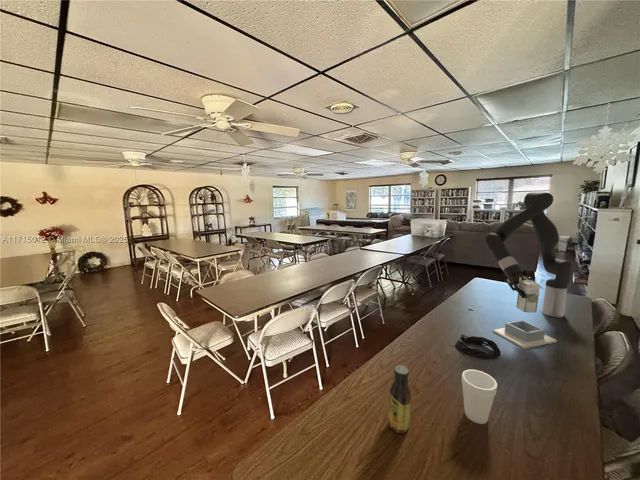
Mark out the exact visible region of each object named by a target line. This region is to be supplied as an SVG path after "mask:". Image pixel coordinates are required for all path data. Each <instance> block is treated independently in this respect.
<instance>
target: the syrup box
mask: <svg viewBox="0 0 640 480" xmlns="http://www.w3.org/2000/svg"><path fill="white" fill-rule="evenodd" d="M534 281H535V280H534ZM534 281H521V283H522V286H521V287H522V289H521V290H523V291H524V292H525V294H526V295H527V297H526V298H522V297H521V296H520V294H519V293H518V292H517V300H516V308H517V309H518V310H520V311H521V312H523V313H537V311H538V303H539V296H540V291H541V290H540V289H541V284H540V283H538V282H536V281H535V282H534Z"/></svg>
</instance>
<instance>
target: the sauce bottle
mask: <svg viewBox="0 0 640 480" xmlns="http://www.w3.org/2000/svg"><path fill="white" fill-rule="evenodd" d="M393 372H394V379H393V383H392V384H391V386H390V388H389V396H388V397H389V399H388V425H389V428H391V429H392V430H393V431H394V432H395V433H398V434H404V433H406V432H407V431H409V428H410V420H411V406H412V405H411V403H412V398H411V397H412V391H411V390H412V389H411V387H410V385H409V384H408V383H409V381H408V380H409V375H410V371H409V369H408V367H406V366H405V365H401V364H400V365H396V366H395V367H394V371H393Z"/></svg>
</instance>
